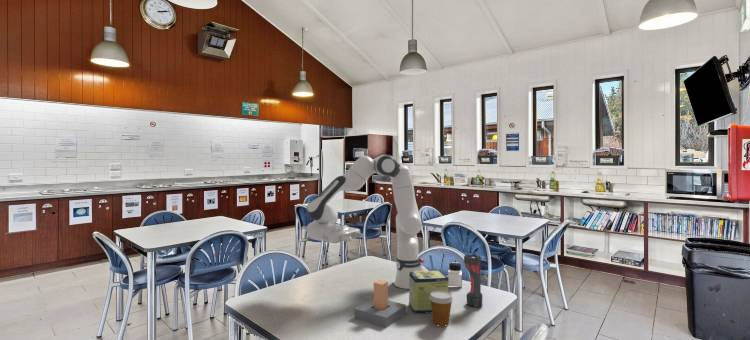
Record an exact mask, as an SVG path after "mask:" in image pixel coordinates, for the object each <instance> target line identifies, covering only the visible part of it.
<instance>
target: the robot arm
mask: <svg viewBox="0 0 750 340" xmlns="http://www.w3.org/2000/svg"><path fill="white" fill-rule="evenodd" d="M410 170H411V169H410V168H409V167H408V166H406V165H404V164H403V165H402V164H400V163H399V162H398V161H397V159H396V158H395V157H394V156H392V155H391V154H381V155H378V156H375V157H373V158H372V157H370V156H368V155H360V157H358V158H357V159H356V160H355V161H354V162H353V164H352V165H351V166H350V167H349V168H348V169H347V170H346V171H345V173H343V174H342V175H339V176H337V177H335V178H334V179H333V180H332V181H331V182H330V183H329V184H328V185H327V186H326V187H325V188H324V189H322V191H321V192H320V193H319V194H318V195H317V196H316V197H314V198H313V199H312V200H310V201H309V203H308V204H307V205H306V206H307V207H306V209H305V210H306V216H307V217H308V218H309V219H311V220H313V221H312V222H309V223H308V224H307V225H306V234H307V236H308V237H309V238H310V239H312V240H315V241H319V242H326V243H329V244H330V243H331V244H339V243H342V242H351V241H352V239H355V238H360V239H361V238H364V234H363V233H361V229H359V228H357V227H351V226H348V225H345V224H343V225H341V224H339V225H338V224H337V222H338V218H339V213H338V211H337V209H335V208H333V207H332V206H330V205H328V203H329V202H330V201H332V199H333V198H334V197H335V196H336V194H338V193H339V192H342V191H343V192H344V191H349V192H355V191H359V190H361V188H362V187H363V186H364V185H365V184H366V182H367V181H368V180H369V178H370V177H371V176H372V175H374V174H376V175H378V176H382V177H389V179H390V181H391V186H392V194H393V198H394V199H393V200H394V204H395V208H396V211H397V214H396V216H395V229H396V230H395V231H396V240H397V241H396V243H397V252H396V253H397V257H396V263H395V265H396V274H395V280H394V283H393V284H394V286H396V288H397V287H398V288H400V289H408V290H409V275H410V272H420V271H430V270H428V269H427V268H426V267H425V266H423V265H422V264H424V263H425V262H426V261H425V259H423V258H420V257H419V240H418V236H417V235H418V233H420V232H421V230H422V228H423V223H422V220H421V216H420V211H419V208H418V204H417V200H416V194H415V188H414V180H413V176H412V172H411V171H410Z"/></svg>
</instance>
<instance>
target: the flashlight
mask: <svg viewBox="0 0 750 340" xmlns="http://www.w3.org/2000/svg"><path fill="white" fill-rule="evenodd" d="M481 257H482V256H481V255H480V254H478V255H477V254H476V253H472V254H469V253H466V254H465V255H464V256H463V263H464V266H465V268H466V269H467V271H468V272H469V276H470V277H469V278H470V291H469V292H468V293H466V304H467V303H468V304H469V305H470V306H472V305H473V306H476V307H478V306H482V307H483V293H482V292H481V288H482V286H481V283H482V282H481V269H482V268H481V264H482V258H481ZM468 304H467V305H468ZM469 305H468V306H469ZM473 306H472V307H473Z"/></svg>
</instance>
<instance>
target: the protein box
mask: <svg viewBox="0 0 750 340" xmlns="http://www.w3.org/2000/svg"><path fill="white" fill-rule="evenodd" d="M448 279H449V278H448V275H446V274H445V273H444V272H443V271H442V270H429V271H420V272H410V275H409V289H408V290H409V291H408V306H409V305H410V306H409V307H410V309H411V311H412V312H413V314H414V313H421V314H427V313H426V312H432V309H431V300H430V298H429V296H430V294H431V293H432V292H434V291H446V292H449V287H448Z"/></svg>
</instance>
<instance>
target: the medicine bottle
mask: <svg viewBox="0 0 750 340" xmlns="http://www.w3.org/2000/svg"><path fill="white" fill-rule="evenodd" d="M448 267H449V269H448V271H447V277H448V278H449V279H448V286H457V287H462V288H463V271H462V264H461V263H460V262H457V261H454V262H450V263H449V266H448Z"/></svg>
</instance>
